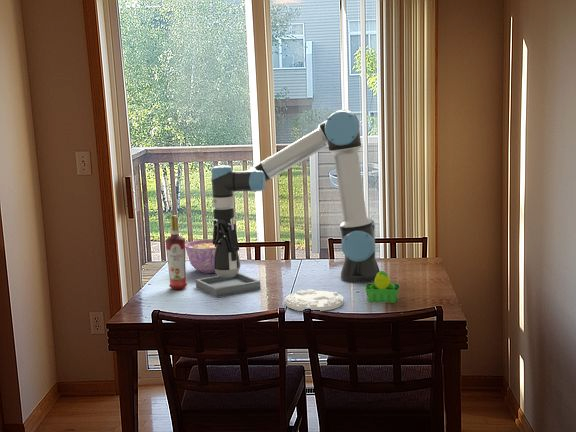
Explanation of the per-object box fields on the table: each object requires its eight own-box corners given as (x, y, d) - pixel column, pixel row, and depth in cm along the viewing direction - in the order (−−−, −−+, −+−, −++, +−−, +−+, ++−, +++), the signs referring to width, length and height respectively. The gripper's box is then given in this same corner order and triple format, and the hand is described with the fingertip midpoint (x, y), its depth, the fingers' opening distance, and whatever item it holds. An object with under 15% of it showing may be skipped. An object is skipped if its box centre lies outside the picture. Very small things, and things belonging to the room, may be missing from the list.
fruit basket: (400, 298, 252) (400, 266, 250) (398, 305, 244) (398, 272, 242) (367, 297, 255) (366, 265, 253) (364, 304, 246) (363, 271, 244)
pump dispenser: (207, 277, 273) (205, 237, 271) (228, 271, 281) (226, 232, 278) (226, 281, 266) (223, 240, 264) (246, 275, 274) (244, 235, 271)
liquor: (168, 291, 273) (163, 218, 268) (168, 286, 280) (163, 214, 275) (188, 290, 274) (183, 216, 269) (187, 285, 281) (183, 213, 277)
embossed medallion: (350, 310, 242) (350, 302, 241) (292, 316, 238) (292, 307, 237) (334, 294, 261) (334, 286, 261) (280, 299, 257) (280, 291, 257)
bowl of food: (228, 276, 292) (226, 248, 290) (180, 276, 295) (178, 248, 294) (239, 265, 311) (238, 238, 309) (194, 265, 315) (193, 238, 313)
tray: (260, 288, 271) (260, 281, 271) (216, 297, 262) (216, 289, 262) (238, 279, 287) (237, 272, 286) (196, 287, 278) (195, 279, 277)
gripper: (201, 205, 277) (204, 262, 281) (228, 212, 258) (231, 273, 262) (219, 203, 281) (222, 259, 285) (246, 210, 262) (249, 270, 265)
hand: (226, 266), depth 273 cm, fingers closed on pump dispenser, 10 cm apart
